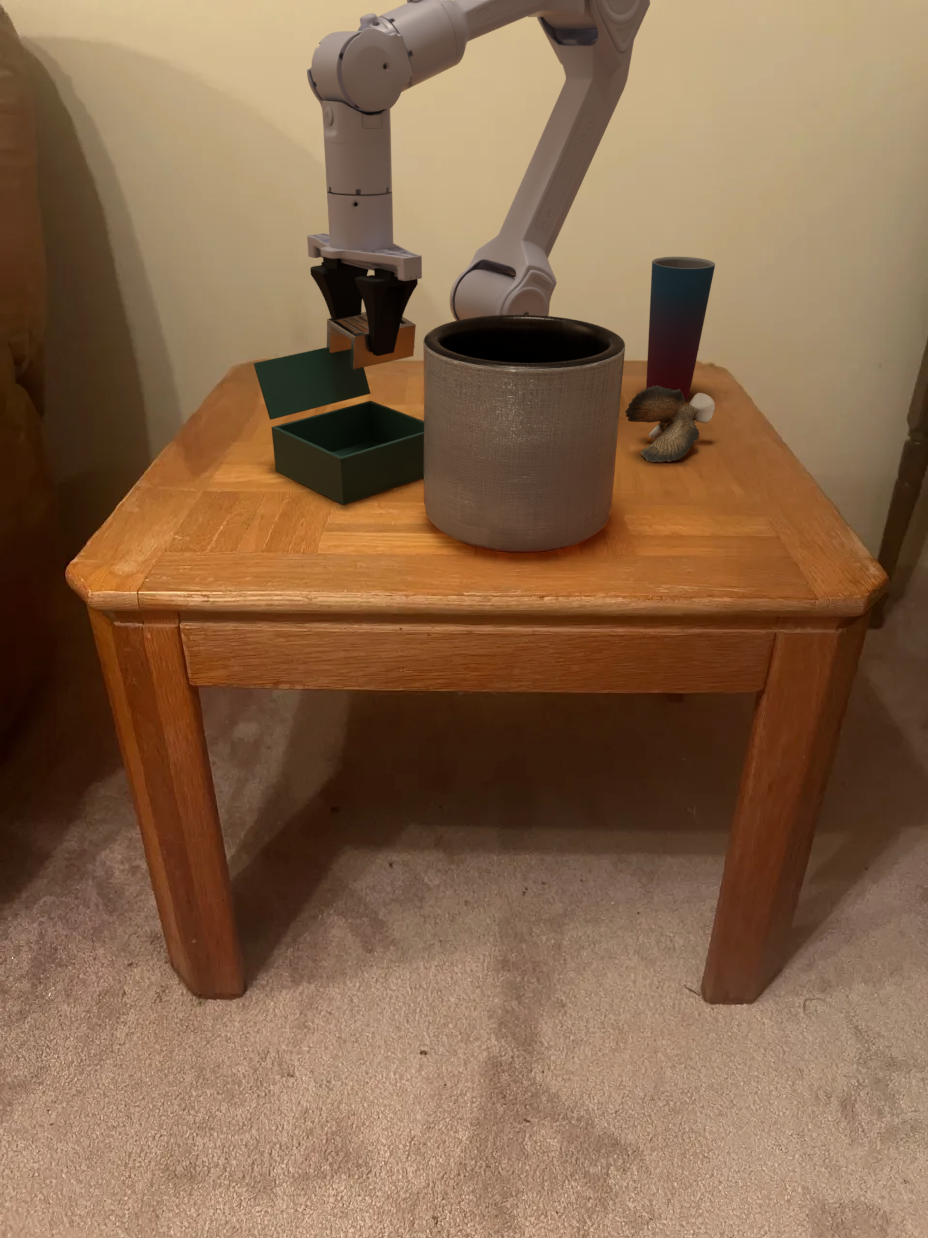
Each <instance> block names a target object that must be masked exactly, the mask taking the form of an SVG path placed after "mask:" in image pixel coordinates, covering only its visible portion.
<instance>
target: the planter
mask: <svg viewBox="0 0 928 1238" xmlns="http://www.w3.org/2000/svg"><path fill="white" fill-rule="evenodd" d="M422 342H423V421H424V478H423V503H424V510H425V514H426V516H427V519H428V520H429V521H430V522H431V524H432V525H434V527H436V528H437V529H438V530H439V531H440V532H441V533H442V534H445V535H446V536H448V537H450V538H451V539H452V540H455V541H457V542H459V543H461V544H463V545H465V546H469V547H472V548H476V549H478V550H484V551H489V552H494V553H501V554H503V553H504V554H515V555H524V554H525V555H526V554H542V553H543V554H544V553H550V552H555V551H560V550H564V549H568V548H571V547H574V546H576V545H578V544H580V543H582V542H585V541H587V540H588V539H590V538H592V537H593V536H594V535H596V534H598V532H600V531H602V529H603V528H604V527H605V526H606V525H607V523H608V521H609V519H610V515H611V511H612V506H613V497H614V486H615V485H614V484H615V472H616V461H617V460H616V458H617V457H616V456H617V446H618V436H619V435H618V434H619V433H618V431H619V421H620V409H621V396H622V388H623V387H622V386H623V375H624V364H625V355H626V354H625V353H626V343H625V341H624V339H623V338H622V337H621V336H620V335H619V334H617V333H616V332H615V331H612V330H611V329H608V328H607V327H604V326H601V325H599V324H595V323H592V322H588V321H583V320H579V319H573V318H567V317H560V316H551V315H549V316H540V315H493V316H482V317H474V318H467V319H462V320H457V321H456V320H454V321H450V322H447V323H444V324H441V325H439V326H436V327H434V328H433V329H431V330H430V331H428V332H427V333H426V335H425V336H424V337H423V341H422Z"/></svg>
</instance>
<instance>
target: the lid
mask: <svg viewBox="0 0 928 1238" xmlns="http://www.w3.org/2000/svg"><path fill="white" fill-rule="evenodd" d="M350 362H351V349H349V350H344V351H340V352H335V353H328V352H327V346H325V347H322V348H316V349H312V350H307V351H304V352H297V353H294V354H290V355H289V354H288V355H285V356H281V357H276V358H271V359H267V360H262V361H256V362H254V363H253V368H254V371H255V374H256V377H257V381H258V384H259V388H260V391H261V394H262V398H263V401H264V404H265V405H264V406H265V409H266V411H267V415H268V418H269V420H270V421H272V420H276V419H279V418H283V417H287V416H291V415H294V414H298V413H302V412H305V411H310V410H314V409H317V408H322V407H325V406H329V405H332V404H337V403H341V402H345V401H348V400H351V399H357V398H360V397H363V396H367V395H371V393H372V392H371V389H370V385H369V382H368V379H367V378H368V377H367V374H366V371H365V367H363V368H358V369H352V368H351V367H350Z"/></svg>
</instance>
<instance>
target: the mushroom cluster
mask: <svg viewBox="0 0 928 1238" xmlns="http://www.w3.org/2000/svg"><path fill="white" fill-rule="evenodd" d="M715 405H716V402H715V401H714V399H713V397H712V396H710V395H708V394H706V393H704V392H697V393H695V394H694V396H693V397H692V399H691V400H690V401H689V402H688V403H687V404H686V400H685V399H684V396H683V394H682V392H681V390H680V389H679V390H671V389H665V388H664V387H663V388H662V387H660V386H652V388H651V387H649V389H646V388H645V389H644V390H641V391H640V392H637V393H636V394H635V396H634V397H633V398H632V399H631V401H630V402H629V403H628V404H627V408H626V409H625V411H624V413H625V418H627V421H628V422H632V423H635V422H636V423H640V422H641V423H657V422H659V423H658V424H657V425H656V426H655V427H654V428H653V429H652V430H651V431H650V432H649V433H648V437H647V439H646V442H647V443H649V442H650V441H652V443H650V444H649V445H647V446H646V447H645V448H644V449H642V450H641V451H640V454H641V455H642V458H644V459H645V460H646V461H647V462H650V463H657V462H658V463H664V462H666V461H667V462H668V463H670V462H672V461H673V462H674V461H678V460H680V459H681V458H683V457H685V455H686V454H688V452H689V450H690V449H691V448H692V446H693V445H694V443H695V442H697V441H698V440H699V438H700V431H699V429H698V427H697V425H696V422H697V423H702V424H709V422H710V421H711V420H712V418H713V416H714V414H715V411H716V406H715Z"/></svg>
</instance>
